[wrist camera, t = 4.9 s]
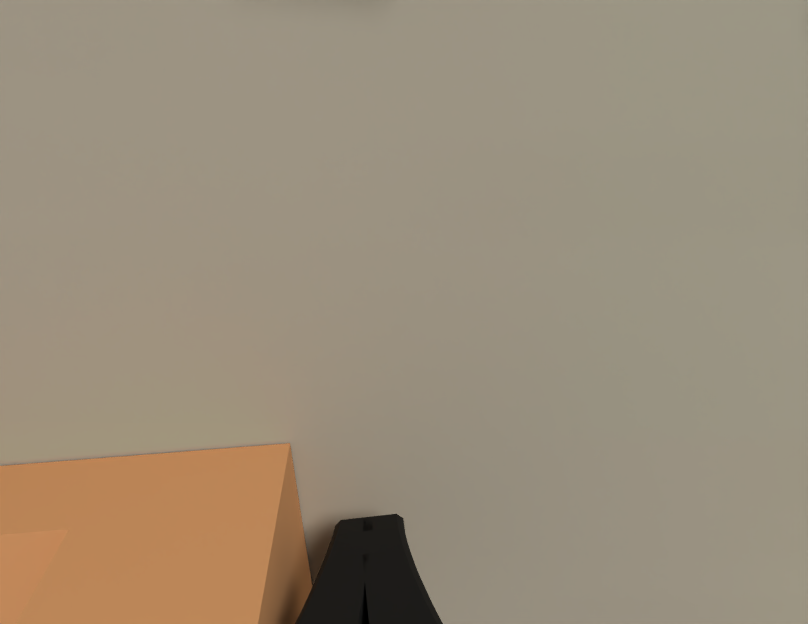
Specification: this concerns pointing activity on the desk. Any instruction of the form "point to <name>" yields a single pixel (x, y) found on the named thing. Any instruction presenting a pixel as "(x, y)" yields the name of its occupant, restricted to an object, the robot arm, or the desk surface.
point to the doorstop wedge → (154, 539)
